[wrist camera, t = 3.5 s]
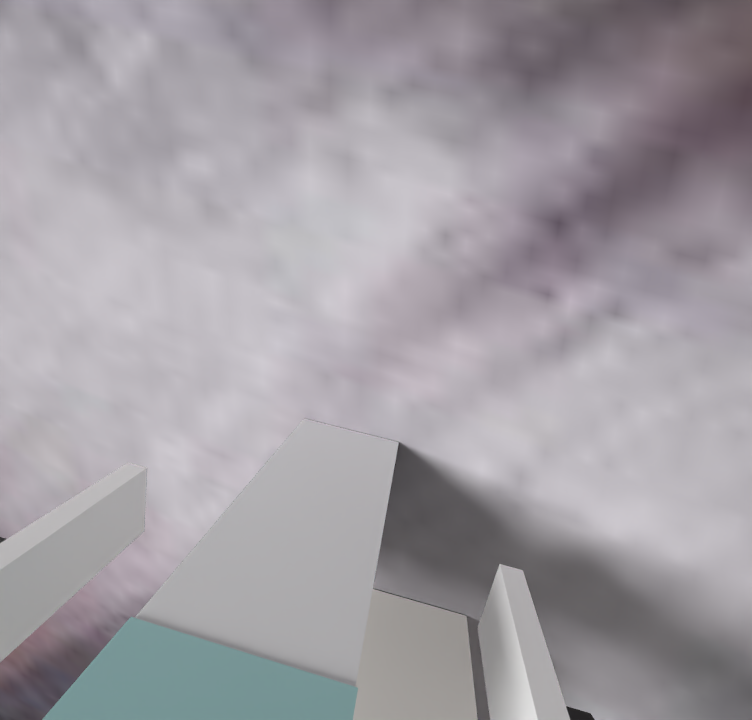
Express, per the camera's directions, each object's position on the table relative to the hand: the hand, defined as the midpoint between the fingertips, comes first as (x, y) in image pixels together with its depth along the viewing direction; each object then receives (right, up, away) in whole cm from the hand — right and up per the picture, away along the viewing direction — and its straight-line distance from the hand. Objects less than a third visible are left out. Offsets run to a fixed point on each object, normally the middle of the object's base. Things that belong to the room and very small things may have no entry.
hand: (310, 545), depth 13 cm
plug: (+1, +1, +5) cm, 5 cm away
